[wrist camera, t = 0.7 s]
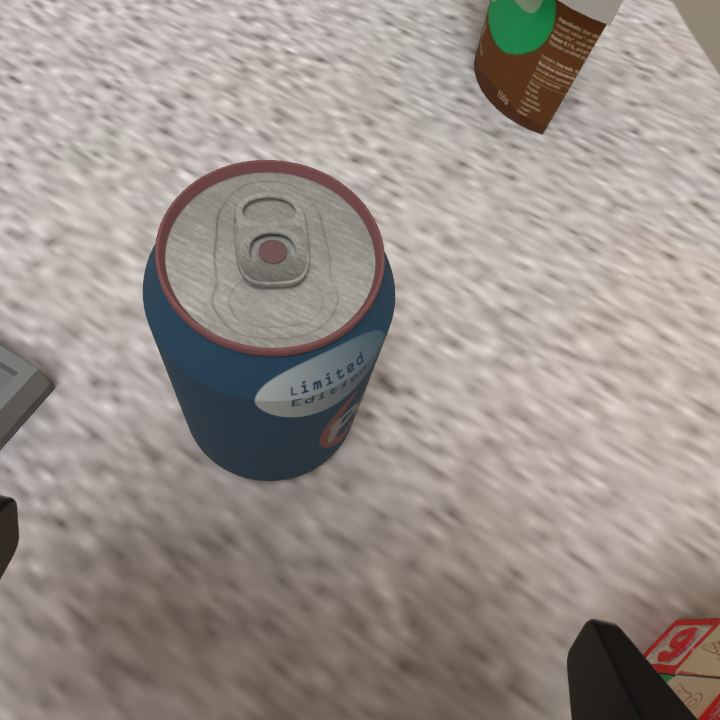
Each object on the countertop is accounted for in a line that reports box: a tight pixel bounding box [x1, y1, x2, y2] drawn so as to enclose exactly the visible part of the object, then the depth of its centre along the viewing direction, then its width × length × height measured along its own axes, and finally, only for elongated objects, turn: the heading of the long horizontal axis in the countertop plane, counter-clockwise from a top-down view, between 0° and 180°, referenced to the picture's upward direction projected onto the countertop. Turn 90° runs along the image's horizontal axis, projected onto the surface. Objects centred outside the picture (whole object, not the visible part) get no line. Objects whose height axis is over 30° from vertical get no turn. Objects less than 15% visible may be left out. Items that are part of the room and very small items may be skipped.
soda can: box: [143, 160, 395, 481], centre depth 21 cm, size 7×7×12 cm
